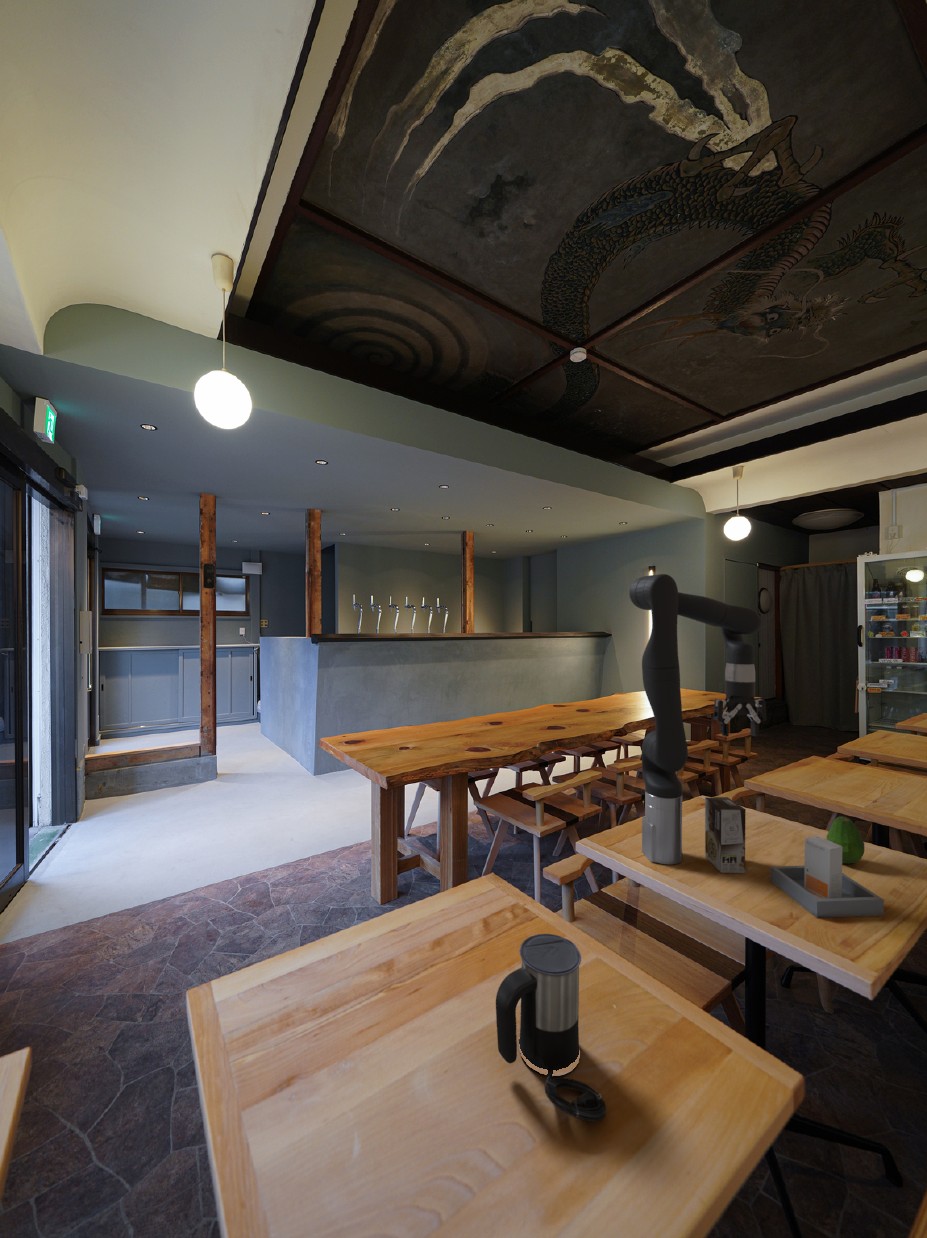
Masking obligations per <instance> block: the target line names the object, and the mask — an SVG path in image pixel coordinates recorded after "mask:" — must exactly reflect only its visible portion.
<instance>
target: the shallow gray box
mask: <svg viewBox="0 0 927 1238" xmlns="http://www.w3.org/2000/svg"><path fill="white" fill-rule="evenodd" d="M769 868H770V872H769V875H770V878H769V880H770V882H771V883H772V884H774V885H775V886H776V887H778V889H780V890H781V891H782V892H784V893H785V894H786V895H787V896H789V897H790V898H791V899H792V900H794V901H795V902H796V903H797V904H798V905H800V906H802V908H803V909H804V910H806V911H808V912H809V913H811V915H813V916H814V917H815V918H816V919H822V918H823V919H824V918H846V917H847V918H848V917H850V918H851V917H872V916H873V917H876V916H877V917H878V916H884V898H882V897H880V896H879V895H878V894H876V893H874V891H871V890H870V889H868V888H866V887H865V886H863V885H862V884H861V883H859V882H857V881H856V880H854V879H853V878H851V877H849V876H848V875H846V874H844V873H843V872H842V898H828V899H824V898H822V897H820V896H818V895H817V894H815V893H813V892H811V891H809V890H807V889H805V888H804V869H805V865H782V866H776V865H775V866H770V867H769Z"/></svg>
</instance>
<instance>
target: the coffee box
mask: <svg viewBox="0 0 927 1238" xmlns="http://www.w3.org/2000/svg"><path fill="white" fill-rule="evenodd" d="M704 804H705V805H704V831H705V833H704V836H705V837H704V839H705V841H704V844H705V845H704V846H705V847H704V852H705V854H704V856H705V858H706V859H707V860H708V861H709V863H711V864H712V865H713V866H714V867H715V868H716V869H717V871H719V872H720V873H721V874H723V873H724V874H725V873H726V874H745V873H746V813H747V812H746V808H744V807H743V806H741V805H740V804H738V803H737V802H735V801H734V800H732V798H730V797H727V796H714V797H705V798H704Z"/></svg>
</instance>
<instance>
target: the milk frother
mask: <svg viewBox="0 0 927 1238" xmlns="http://www.w3.org/2000/svg"><path fill="white" fill-rule="evenodd" d="M519 956H520V959H521V967H519V968H518V969H516V970H514V971H512V972H510V973H509V974H508V975H507V976H505V977H504V978H503V980H502V981H501V983H500V985H499V987H498V988H497V992H496V996H495V1014H496V1015H495V1017H496V1018H495V1019H496V1021H495V1022H496V1036H497V1048H498V1053H499V1054H500V1055H501V1057H502V1059H503V1060H504V1061H506V1062H507V1063H508V1064H513V1063H515V1062H516V1061H517V1057H518V1053H517V1052H518V1047H517V1046H518V1042H517V1041H519V1044H520V1049H521V1051H522V1053H523V1055H524V1056H525V1057H526V1059H528V1060H529V1061H530V1062H531V1063H532V1064H534V1065H535V1066H537V1067H539V1068H543V1069H547V1070H548V1074H547V1076H546V1079H545V1082H544V1091H545V1095H546V1097H547V1098H548V1100H549V1101H550V1102H551V1103H552V1104H553V1105H554V1106H555V1107H556V1108H558V1109H559V1110H561V1111H562V1112H564V1113H565V1114H567V1115H570V1116H571V1117H574V1118H577V1119H579V1120H582V1121H586V1122H593V1123H594V1122H600V1121H602V1120H603V1119H604V1118H605V1116H606V1113H607V1107H606V1104H605V1101H604V1100H603V1097H602V1096H603V1095H602V1094H601V1093H598V1092H597V1091H595V1090H594V1088H592V1087H591V1086H589V1085H587V1084H586V1083H584V1082H582V1081H579V1080H576V1079H573V1078H572V1079H571V1078H566V1077H554V1078H553V1077H552V1074H553V1070H556V1071H557V1070H559V1069H562V1068H566V1067H568V1066H569V1065H570V1064H571V1063H573V1062H575V1060H576V1059H577V1057H578V1055H579V1047H580V1040H579V1039H580V1038H579V1037H580V1036H579V1032H580V1031H579V1028H580V1027H579V1016H580V1015H579V1005H580V1001H579V1000H580V997H579V995H580V993H579V992H580V964H581V963H582V962H581V961H582V954H581V951H580V950H579V948H578V947H577V945H576V944H575V943H574V942H573V941H571V940H569V939H567V938H565V937H563V936H561V935H557V934H552V933H537V934H534V935H531V936H529V937H527V938H526V939H524V940H523V942H522V943H521V944H520V947H519ZM519 1001H520V1022H519V1023H520V1028H519V1037H520V1039H519V1038H518V1039H517V1015H516V1014H517V1012H516V1011H517V1005H518V1004H519ZM560 1088H561V1089H563V1088H564V1089H571V1090H575V1091H577V1092H580V1091H581V1092H580V1093H582V1094H581V1095H580V1096H578V1097H577V1098H576V1100H573V1099H572V1101H571V1102H570V1101H567V1100H566V1099H565V1098H564V1097H562V1096H560V1094H559V1093H558V1092H557V1090H558V1089H560Z"/></svg>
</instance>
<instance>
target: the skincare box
mask: <svg viewBox="0 0 927 1238" xmlns="http://www.w3.org/2000/svg"><path fill="white" fill-rule="evenodd" d="M842 849H843V847H842V846H840V845H838V844H835V843H833V842H831V841H829V840H827V838H826V839H825V838H823V837H821V836H817V835H814V836H809V837H805V838H804V866H805V869H804V888H805V889H807V890H809V891H811V892H813V893H815V894H817V895H818V896H820V897H822V898H824V899H828V898H842V873H843V863H842Z"/></svg>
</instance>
